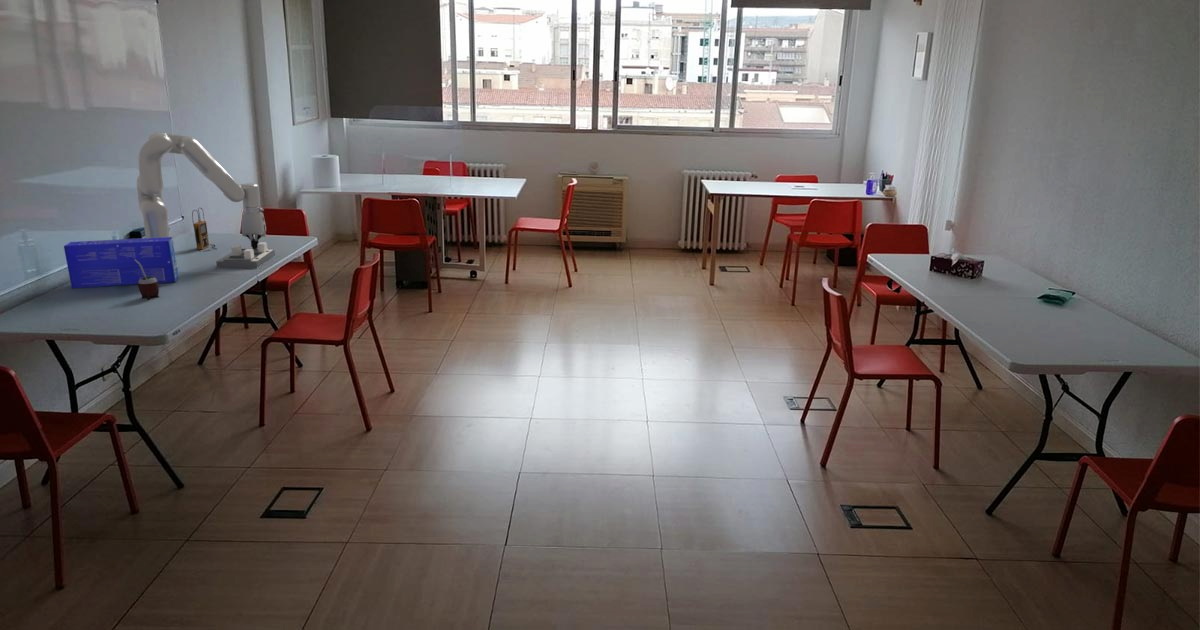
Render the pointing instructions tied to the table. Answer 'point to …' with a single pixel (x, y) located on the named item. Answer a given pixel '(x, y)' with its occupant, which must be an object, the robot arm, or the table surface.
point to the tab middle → (236, 250)
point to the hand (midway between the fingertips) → (255, 248)
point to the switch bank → (240, 262)
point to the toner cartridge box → (120, 261)
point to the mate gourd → (148, 286)
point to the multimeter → (201, 233)
